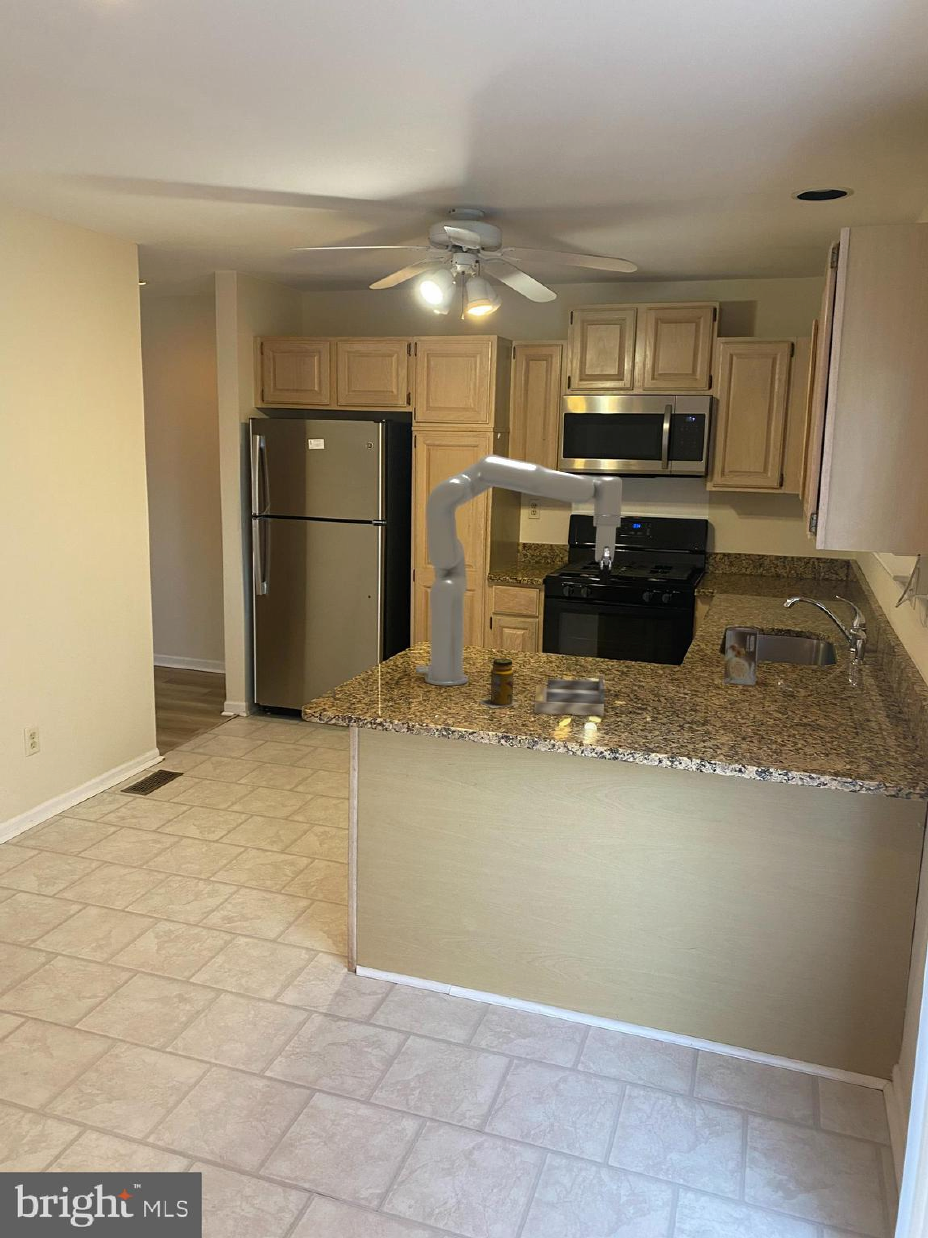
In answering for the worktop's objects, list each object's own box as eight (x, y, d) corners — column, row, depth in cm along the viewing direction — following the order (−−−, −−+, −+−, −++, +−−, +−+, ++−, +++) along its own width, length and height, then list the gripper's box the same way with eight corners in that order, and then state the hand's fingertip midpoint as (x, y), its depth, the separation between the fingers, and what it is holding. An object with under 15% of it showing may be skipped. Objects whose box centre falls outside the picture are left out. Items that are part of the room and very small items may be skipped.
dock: (534, 713, 244) (535, 687, 242) (536, 696, 259) (537, 672, 258) (603, 716, 242) (604, 690, 241) (601, 699, 258) (602, 675, 256)
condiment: (519, 704, 252) (520, 661, 250) (493, 708, 247) (494, 665, 245) (503, 698, 258) (504, 655, 256) (478, 702, 253) (478, 659, 251)
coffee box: (756, 681, 280) (760, 628, 277) (754, 686, 274) (758, 632, 271) (725, 677, 283) (728, 626, 280) (722, 682, 277) (726, 630, 274)
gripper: (592, 518, 270) (590, 576, 273) (594, 523, 253) (591, 585, 256) (618, 518, 269) (616, 577, 272) (622, 524, 252) (619, 586, 255)
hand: (604, 581), depth 264 cm, fingers open, 9 cm apart
